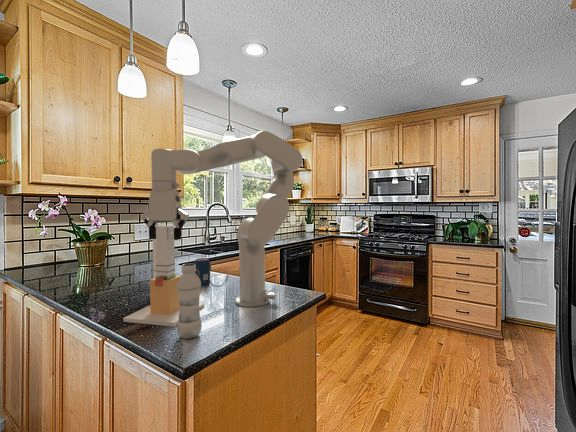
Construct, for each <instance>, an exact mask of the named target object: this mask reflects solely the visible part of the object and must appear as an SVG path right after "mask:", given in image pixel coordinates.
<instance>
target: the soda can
mask: <svg viewBox="0 0 576 432" xmlns="http://www.w3.org/2000/svg"><path fill="white" fill-rule="evenodd" d="M193 264H195V265H196V271H195V274H196V275H197V276H198V277H199V279H200V281H201V288H206V287H208V286H210V284H211V262H210V259H209V258H208V257H202V258H195V260H194V263H193Z"/></svg>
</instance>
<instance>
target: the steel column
mask: <svg viewBox="0 0 576 432" xmlns="http://www.w3.org/2000/svg"><path fill="white" fill-rule="evenodd" d="M155 227H156V258H157V265H156V266H157V271H156V272H157V276H156V278H157V277H164V280H169V279H172V278H174V277H176V276H177V275H176V266H175V264H176V263H175V258H176V257H175V240H174V228H175V226H174V225H159V226H155Z"/></svg>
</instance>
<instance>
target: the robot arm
mask: <svg viewBox="0 0 576 432" xmlns="http://www.w3.org/2000/svg"><path fill="white" fill-rule="evenodd" d="M264 157H267V158H269V159H270V160H271V162H270V165H271V169H272V173H273V177H272V178H273V179H272V181H271V183H270V184H269V186H268V187H267V189H266V190H265V191H264V193H263V194H262V195H261V197H260V198H259V199H258V201H257V203H256V207H255V211H256V213H257V214H256V215H255V217H247V218H245V219H243V220H242V221H241V222H240V223H239V226H238V228H237V240H238V250H239V252H238V253H239V256H238V257H239V261H238V262H239V263H238V264H239V265H238V266H239V268H238V269H239V271H238V272H239V296H237V297H236V298H235V304H236V305H237V306H241V307H246V308H255V307H256V308H257V307H261V306H265V305H267V304H269V302H270V300H276V298H277V295H276V294H275V292H269V291H268V288H266V253H265V252H266V251H265V246H266V245H267V244H269V243H270V241H271V240H272V239H274V237H275V235H276V234H277V232H279V229H280V228H281V226H282V225H283V224H284V222H285V220H286V219H287V217H288V215H289V211H290V203H289V200H288V198H289V196H290V195H291V194H292V192H293V190H294V187H295V186H294V185H295V178H294V172H296V171H297V170H299V169H300V168H301V167H302V165H303V155H302V153H301V151H300V150H298V148H297V147H295V146H294V145H292V144H290V143H289V142H287V141H285V140H284V139H283V138H281V137H279V136H278V135H277V134H275V133H273V132H271V131H268V130H261V131H257V133H256V134H253V135H250V136H249V135H248V136H245V137H241V138H235V139H229V140H224V141H222V142H219V143H217V144H215V145H214V146H212V147H209V148H205V149H202V150H198V151H197V150H196V151H195V150H194V149H189V148H188V149H187V148H186V149H185V148H184V149H170V148H155V149H153V150H152V151H151V158H150V160H151V162H150V163H151V190H150V194H149V197H148V198H149V199H148V209H147V210H146V211H144V212H143V213H142V214H141V217H142V220H143V223H145V225H146V226H147V228H148V237H149V238H148V239H149V240H153V239H156V227H157V226H156V225H157V224H158V222H171V223H172V224H173V226H174V241H178V240H179V241H180V240H182V231H183V230H182V228H183V227H184V225H185V224H186V223H187V221H188V219H189V217H190V215H189V214H188V213H187V212H185V211H184V210H183V205H182V198H181V195H180V192H179V190H178V191H177V189H178V188H180V184H179V183H177V171H178V172H179V173H181V174H183V175H193V174H197V173H201V172H205V171H210V170H214V169H219V168H223V167H228V166H229V167H230V166H232V165H236V164H240V163H244V162H249V161H253V160H257V159H262V158H264Z"/></svg>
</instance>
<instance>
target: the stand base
mask: <svg viewBox="0 0 576 432" xmlns="http://www.w3.org/2000/svg"><path fill="white" fill-rule="evenodd" d="M181 276H182V275H176V277H174V278H172V279H169V280H164V277H157V278H151V279H150V280H149V295H150V296H149V298H150V299H149V301H150V303H149V305H147V306H145V307H143V308H141V309H139V310H137V311H134V312H132V313H131V314H129V315H126V316H125V317H123V319H122V320H123V323H124V322H125V323H132V324H143V325H152V326H153V325H155V326H164V327H174V328H175V327H177V326H178V321H179V297H178V291H177V283H178V280H179V279H180V277H181ZM203 308H205V303H202V302H199V311H200V310H202V309H203Z"/></svg>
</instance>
